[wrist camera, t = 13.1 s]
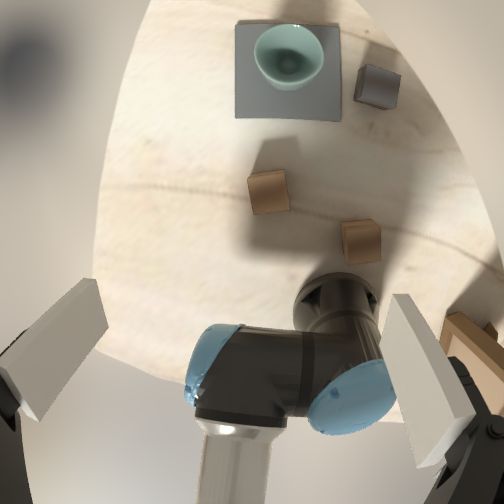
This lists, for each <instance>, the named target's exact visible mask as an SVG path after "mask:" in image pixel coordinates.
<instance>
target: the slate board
mask: <svg viewBox="0 0 504 504" xmlns="http://www.w3.org/2000/svg"><path fill="white" fill-rule="evenodd" d="M277 25H281V24H242V25H235V118H236V119H237V118H281V119H308V120H324V121H338V122H340V121H341V76H340V44H339V27H329V26H318V25H302V24H297V25H301V26H303V27H305V28H307V29H308V30H310V31H311V32H312V33H313V34H314V35H315V36H316V37H317V38H318V40H319V41H320V43H321V45H322V48H323V51H324V63H323V67H322V69H321V71H320V72H319V74H318V76H317V77H316V78H315V79H314V80H313V81H312V82H311V83H310V84H309V85H307V86H306V87H304V88H302V89H299V90H296V91H281V90H278V89H275V88H274V87H272V86H271V85H269V84H268V83H267V82H266V81H265V79H264V78H263V76H262V75H261V73H260V71H259V69H258V67H257V65H256V62H255V58H254V46H255V43H256V41H257V39H258V38H259V37H260V35H261V34H262V33H264V32H265V31H266V30H268V29H270V28H272V27H274V26H277Z"/></svg>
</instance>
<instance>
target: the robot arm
mask: <svg viewBox="0 0 504 504" xmlns="http://www.w3.org/2000/svg"><path fill="white" fill-rule="evenodd" d="M378 318H379V305H378V301H377V298H376V296H375V294H374V292H373V290H372V288H371V287H370V285H369V284H368V283H367V282H366V281H364V280H363V279H361V278H360V277H358V276H355V275H352V274H348V273H332V274H327V275H324V276H321V277H319V278H317V279H315V280H313V281H312V282H310V283H309V284H308V285H306V286H305V287H304V288H303V289H302V291H301V292H300V293H299V295H298V296H297V298H296V301H295V303H294V308H293V322H294V327H295V330H296V331H295V330H283V329H272V328H262V327H252V326H246V325H245V324H239V325H231V324H214V325H212V326H210V327H208V328H207V329H206V330H205V331H204V332H203V334H202V335H201V336H200V338H199V340H198V342H197V344H196V346H195V348H194V351H193V353H192V356H191V359H190V363H189V366H188V370H187V374H186V380H185V383H186V386H185V391H184V392H185V393H184V395H185V399H186V401H187V403H189V404H191V406H196V411H195V420H196V422H197V423H198V424H199V426H200V427H201V428H202V429H203V432H204V441H203V448H202V456H201V463H200V470H199V479H198V486H197V494H196V501H195V504H264V503H265V496H266V489H267V482H268V474H269V467H270V459H271V451H272V443H273V441H274V440H275V439H276V438H277V437H278V436H279V435H281V434H282V433H283V432H284V431H286V427H287V418H288V417H307V418H308V421H309V423H310V424H311V426H312V427H313V429H314V430H316V431H320V432H321V433H322V434H326V435H345V434H350V433H353V432H356V431H360V430H362V429H364V428H366V427H368V426H370V425H372V424H373V423H375V422H377V421H378V420H380V419H381V418H382V417H383V416H384V415H385V414H386V413H387V412H388V411H389V410H390V409H391V408H392V406H393V404H394V403H395V401H396V398H397V400H398V403H399V406H400V410H401V413H402V416H403V420H404V423H405V426H406V430H407V433H408V437H409V441H410V444H411V448H412V452H413V455H414V459H415V463H416V467H417V468H422V467H426V466H430V465H434V464H437V463H438V462H439V460H440V459H441V458H442V457H443V456H444V455H445V458H446V461H447V463H446V464H445V465H444V466H443V468H441V470H440V471H439V472H438V473H437V474H436V475H435V476H434V479H436V478H437V477H438V476H439V477H438V479H437V481H436V483H435V484H434V486H433V488H432V490H431V492H430V493H429V495H428V497H427V499H426V500H425V502H424V504H504V418H503V417H502V416H500V415H495V414H491V412H490V410H489V408H488V406H487V404H486V402H485V400H484V398H483V396H482V395H481V393H480V391H479V389H478V387H477V385H475V382H474V380H473V378H472V376H471V377H470V373H469V371H468V369H467V368H466V366H465V364H464V363H462V362H461V361H460V360H459V359H458V358H457V357H456V356H451V357H447V356H446V354H445V353H444V351H443V349H442V347H441V346H440V344H439V342H438V341H437V339H436V337H435V335H434V334H433V332H432V330H431V329H430V327H429V326H428V324H427V322H426V321H425V319H424V317H423V316H422V314H421V313H420V311H419V309H418V308H417V306H416V305H415V303H414V302H413V300H412V299H411V297H410V296H409V294H392V299H391V303H390V307H389V311H388V315H387V319H386V322H385V326H384V330H383V333H382V337H381V334H380V332H379V330H378ZM108 328H109V327H108V323H107V320H106V316H105V313H104V309H103V305H102V301H101V298H100V294H99V290H98V285H97V281H96V279H88V278H83V279H82V280H81V281H80V282H79V283H77V284H76V285H75V286H74V287H73V288H72V289H71V290H70V291H68V292H67V293H66V294H65V295H64V296H63V297H62V298H61V299H59V300H58V301H57V302H56V303H55V304H54V305H53V306H52V307H51V308H50V309H49V310H48V311H46V312H45V313H44V314H43V315H42V316H41V317H40V318H39V319H38V320H37V321H36V322H35V323H34V324H33V325H32V326H31V327H30V328H28V329H27V330H25V331H23V332H22V333H21V334H20V335H19V336H18V337H17V338H16V340H14V341H13V342H12V343H11V344H10V346H8V347H7V348H6V349H5V350H4V351H3V352H2V353H1V354H0V504H33V502H32V497H31V493H30V488H29V483H28V478H27V472H26V466H25V459H24V453H23V443H22V434H21V420H20V414H19V413H18V411H17V409H18V408H19V407H20V406H21V408H22V409H23V411H24V412H25V414H26V415H27V416H29V417H31V418H33V419H34V420H36V421H38V422H40V421H41V420H42V418H43V417H44V415H45V414H46V412H47V411H48V409H49V408H50V406H51V405H52V403H53V402H54V400H55V399H56V397H57V396H58V394H59V393H60V392H61V391H62V389H63V388H64V386H65V385H66V384H67V382H68V381H69V379H70V378H71V377H72V375H73V374H74V373H75V371H76V370H77V368H78V367H79V366H80V364H81V363H82V362H83V360H84V359H85V358H86V356H87V355H88V354H89V352H90V351H91V350H92V348H93V347H94V346H95V345H96V343H97V342H98V341H99V339H100V338H101V337H102V336H103V334H104V333H105V332H106V330H107V329H108Z"/></svg>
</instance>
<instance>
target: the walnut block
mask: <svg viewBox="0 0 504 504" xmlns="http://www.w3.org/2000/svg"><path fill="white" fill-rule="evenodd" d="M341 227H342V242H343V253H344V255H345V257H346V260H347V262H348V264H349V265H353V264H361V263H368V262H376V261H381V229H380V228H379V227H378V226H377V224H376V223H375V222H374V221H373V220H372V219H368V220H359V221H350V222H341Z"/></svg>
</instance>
